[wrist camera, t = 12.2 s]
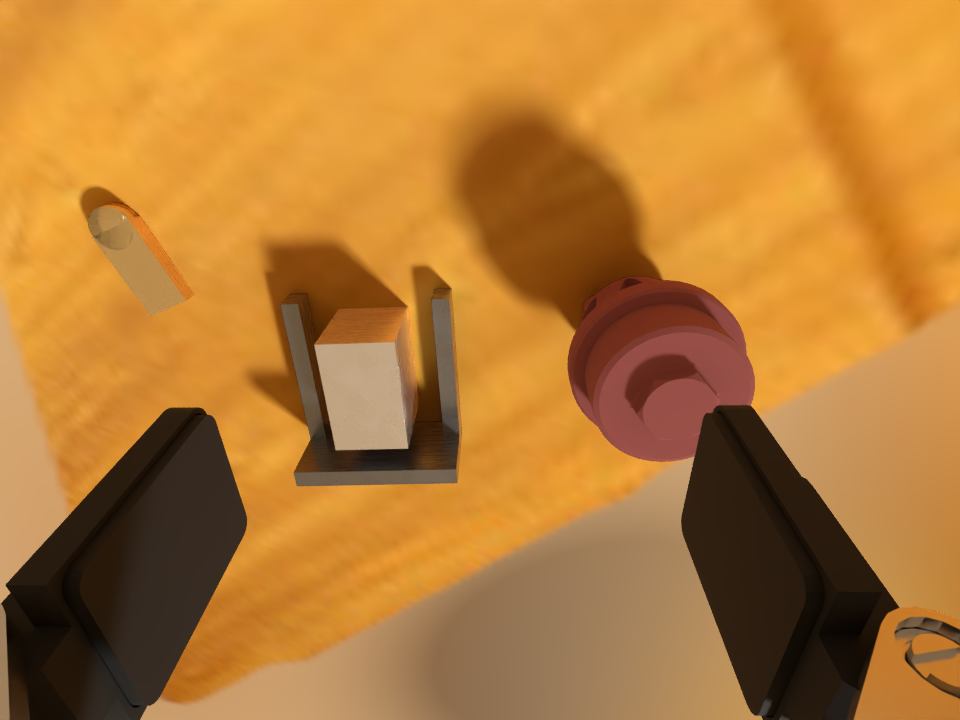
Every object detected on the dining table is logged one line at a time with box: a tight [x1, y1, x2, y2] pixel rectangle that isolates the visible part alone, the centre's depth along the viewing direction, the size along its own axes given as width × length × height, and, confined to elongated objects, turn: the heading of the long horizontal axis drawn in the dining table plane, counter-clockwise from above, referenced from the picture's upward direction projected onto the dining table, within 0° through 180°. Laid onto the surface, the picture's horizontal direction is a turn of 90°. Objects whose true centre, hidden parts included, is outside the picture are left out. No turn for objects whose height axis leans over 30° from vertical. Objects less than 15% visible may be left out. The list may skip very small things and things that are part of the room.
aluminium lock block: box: [314, 307, 419, 450], centre depth 38 cm, size 9×5×6 cm, turn 3°
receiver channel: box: [280, 289, 462, 486], centre depth 38 cm, size 12×11×6 cm
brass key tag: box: [88, 203, 194, 316], centre depth 37 cm, size 7×3×1 cm, turn 23°
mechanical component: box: [568, 276, 755, 462], centre depth 33 cm, size 12×10×10 cm
